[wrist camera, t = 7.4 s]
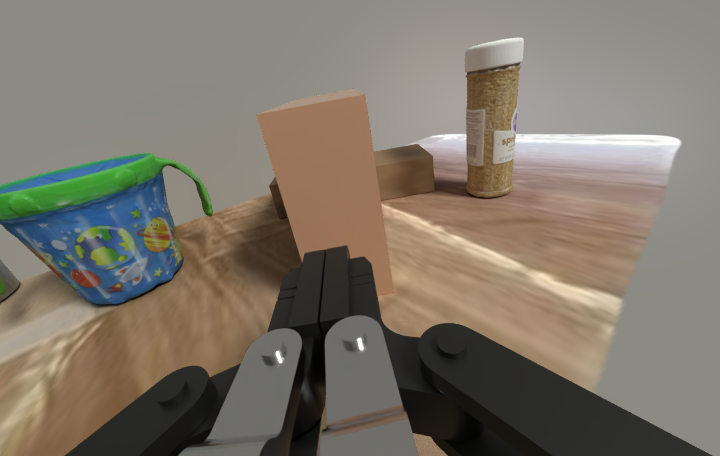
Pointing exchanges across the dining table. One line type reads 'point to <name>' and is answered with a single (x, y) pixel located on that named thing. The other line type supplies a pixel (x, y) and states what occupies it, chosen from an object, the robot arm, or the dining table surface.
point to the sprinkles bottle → (492, 115)
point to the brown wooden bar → (390, 174)
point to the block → (329, 177)
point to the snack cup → (100, 224)
